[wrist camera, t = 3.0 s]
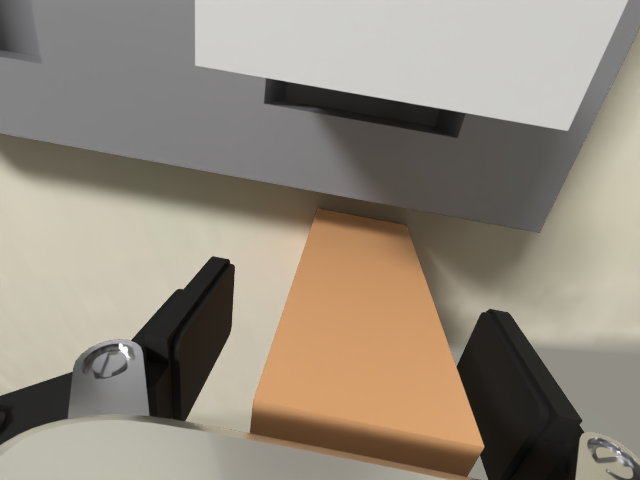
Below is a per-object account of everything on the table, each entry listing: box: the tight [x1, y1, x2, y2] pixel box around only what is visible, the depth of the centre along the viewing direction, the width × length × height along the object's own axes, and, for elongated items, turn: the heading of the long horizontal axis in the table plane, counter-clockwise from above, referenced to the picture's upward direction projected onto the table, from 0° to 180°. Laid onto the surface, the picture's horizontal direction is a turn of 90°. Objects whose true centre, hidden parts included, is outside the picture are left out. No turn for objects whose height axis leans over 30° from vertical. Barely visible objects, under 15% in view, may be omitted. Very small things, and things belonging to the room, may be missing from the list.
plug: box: [250, 208, 484, 477], centre depth 11 cm, size 4×4×10 cm
